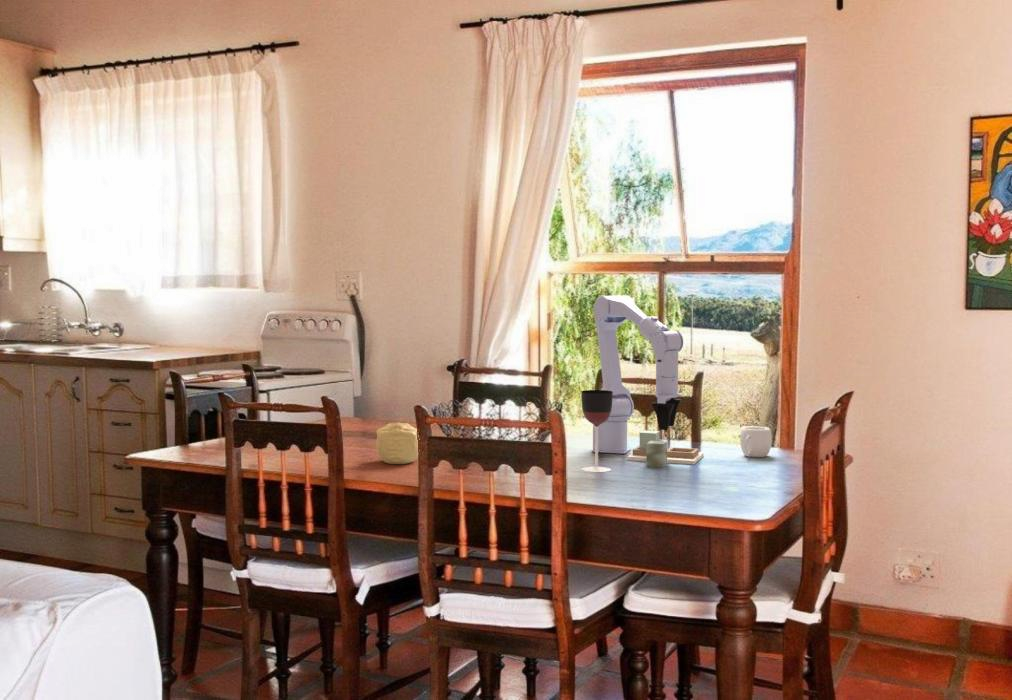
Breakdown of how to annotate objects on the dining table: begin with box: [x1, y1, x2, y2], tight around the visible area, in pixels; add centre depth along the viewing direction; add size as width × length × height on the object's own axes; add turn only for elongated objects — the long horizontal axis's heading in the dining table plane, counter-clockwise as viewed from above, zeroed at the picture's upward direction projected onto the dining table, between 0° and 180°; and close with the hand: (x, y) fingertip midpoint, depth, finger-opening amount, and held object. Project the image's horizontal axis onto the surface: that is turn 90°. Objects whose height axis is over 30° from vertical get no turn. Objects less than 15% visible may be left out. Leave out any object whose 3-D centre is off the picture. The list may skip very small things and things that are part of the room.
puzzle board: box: [626, 430, 704, 465], centre depth 284 cm, size 18×14×7 cm
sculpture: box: [375, 421, 419, 465], centre depth 277 cm, size 12×12×11 cm
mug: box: [739, 425, 773, 458], centre depth 286 cm, size 12×8×8 cm
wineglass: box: [580, 389, 614, 473], centre depth 267 cm, size 8×9×20 cm
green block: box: [645, 440, 668, 468], centre depth 274 cm, size 4×4×6 cm
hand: (666, 427), depth 275 cm, fingers open, 7 cm apart
